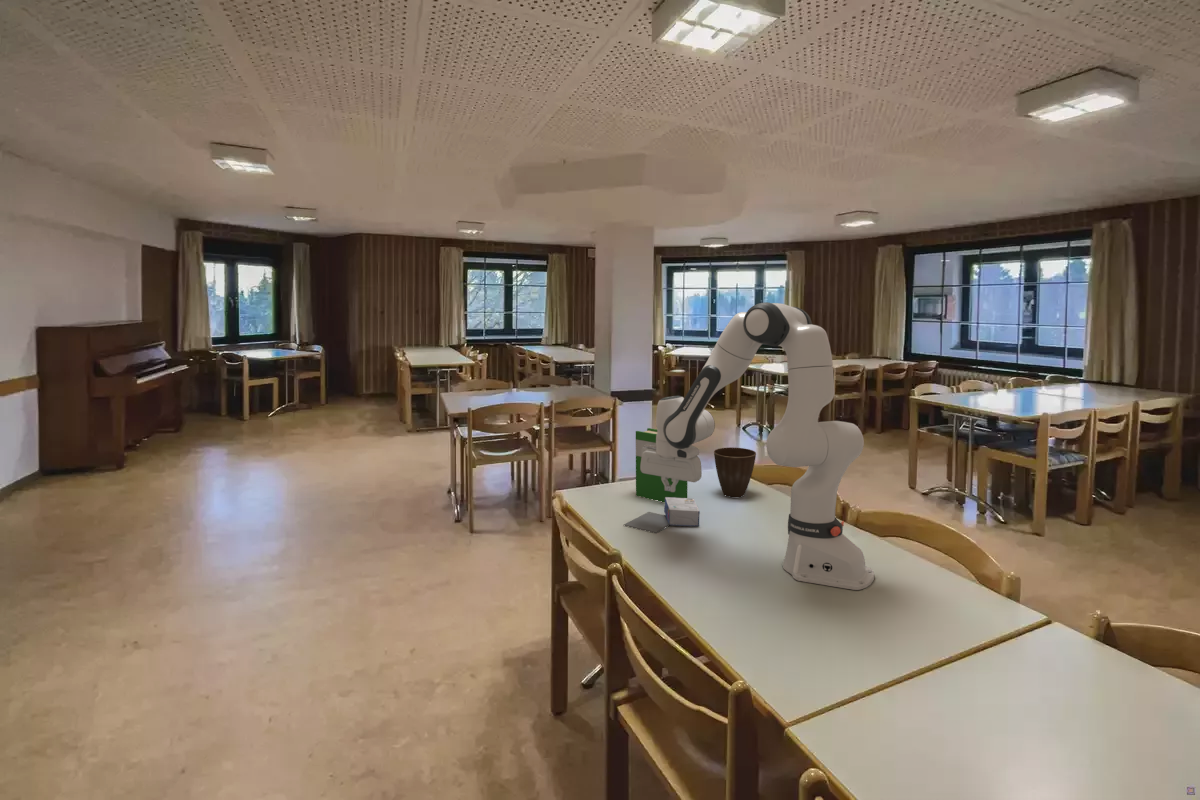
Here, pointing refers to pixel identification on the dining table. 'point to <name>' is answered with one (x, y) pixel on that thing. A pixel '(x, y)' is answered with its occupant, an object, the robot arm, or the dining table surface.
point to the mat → (649, 522)
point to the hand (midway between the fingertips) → (669, 491)
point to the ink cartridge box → (681, 511)
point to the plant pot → (734, 469)
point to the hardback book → (649, 483)
